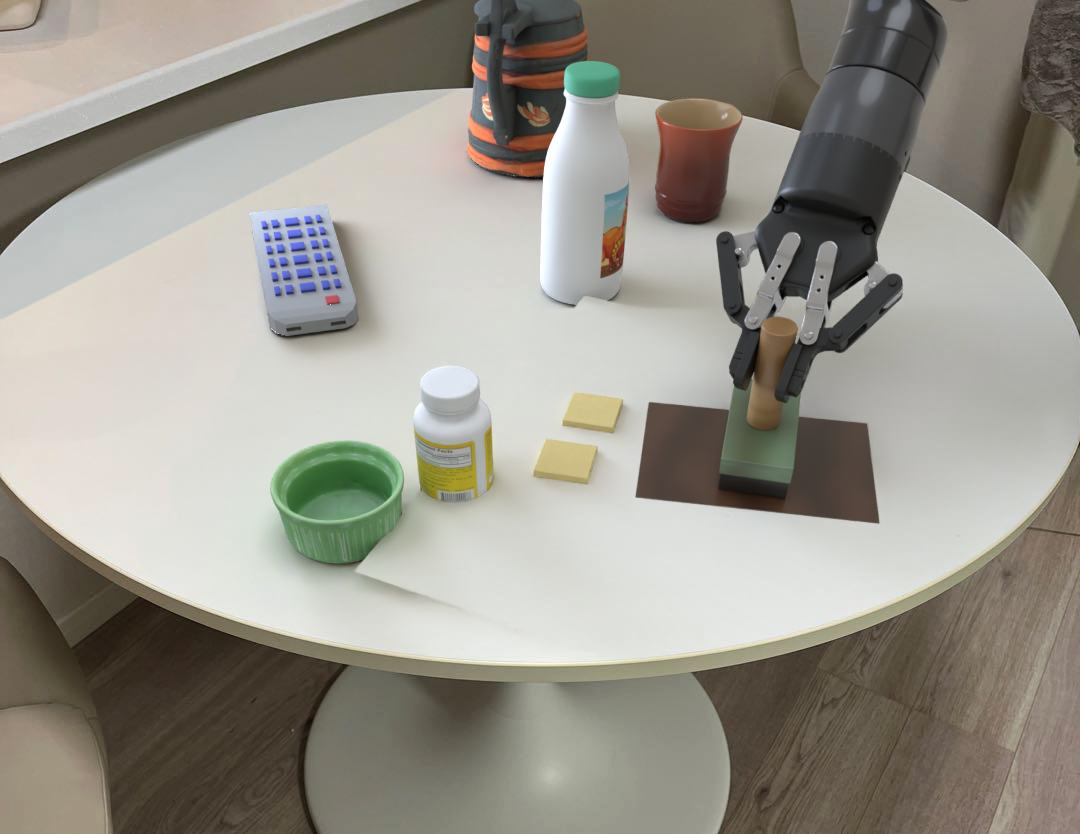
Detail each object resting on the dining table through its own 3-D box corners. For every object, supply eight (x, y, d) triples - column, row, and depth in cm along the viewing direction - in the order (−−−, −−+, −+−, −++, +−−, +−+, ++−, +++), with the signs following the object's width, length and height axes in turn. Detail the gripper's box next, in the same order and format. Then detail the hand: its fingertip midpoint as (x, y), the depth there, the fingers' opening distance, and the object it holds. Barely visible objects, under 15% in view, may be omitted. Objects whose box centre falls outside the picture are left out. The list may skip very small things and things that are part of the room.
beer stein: (570, 204, 114) (576, 3, 100) (440, 189, 116) (429, -9, 103) (603, 137, 127) (612, -47, 114) (486, 126, 130) (481, -56, 116)
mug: (704, 236, 108) (716, 137, 101) (631, 214, 112) (638, 116, 105) (757, 197, 116) (772, 101, 109) (688, 177, 119) (698, 83, 112)
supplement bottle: (460, 461, 80) (454, 350, 74) (509, 494, 77) (507, 381, 71) (404, 492, 77) (393, 380, 71) (453, 528, 74) (446, 414, 68)
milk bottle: (574, 316, 96) (586, 91, 83) (523, 282, 101) (526, 63, 87) (637, 292, 100) (658, 73, 86) (586, 260, 104) (598, 47, 91)
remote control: (329, 221, 110) (327, 201, 109) (361, 329, 94) (359, 307, 93) (252, 230, 109) (248, 209, 107) (271, 341, 93) (267, 318, 91)
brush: (795, 416, 82) (820, 291, 74) (786, 501, 75) (814, 372, 67) (730, 408, 82) (749, 283, 75) (716, 491, 75) (735, 362, 68)
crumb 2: (596, 466, 80) (597, 445, 78) (586, 499, 77) (587, 478, 76) (545, 459, 80) (545, 438, 79) (533, 491, 78) (533, 470, 76)
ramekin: (254, 549, 73) (242, 500, 70) (324, 474, 79) (317, 426, 76) (367, 586, 70) (360, 537, 67) (431, 507, 76) (427, 458, 73)
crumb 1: (621, 419, 84) (623, 398, 83) (612, 448, 82) (613, 427, 80) (572, 411, 85) (573, 391, 84) (561, 440, 82) (562, 419, 81)
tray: (863, 438, 83) (867, 422, 82) (875, 539, 74) (879, 523, 73) (647, 417, 85) (648, 401, 84) (633, 513, 76) (635, 496, 75)
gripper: (745, 109, 71) (654, 350, 71) (954, 152, 66) (856, 410, 66) (760, 159, 78) (678, 379, 78) (950, 201, 73) (861, 435, 73)
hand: (760, 392), depth 72 cm, fingers closed on brush, 2 cm apart
